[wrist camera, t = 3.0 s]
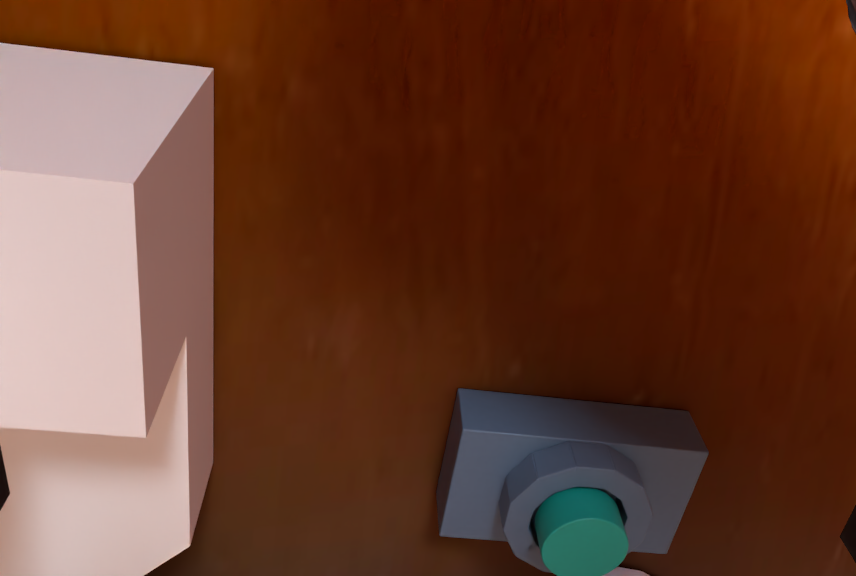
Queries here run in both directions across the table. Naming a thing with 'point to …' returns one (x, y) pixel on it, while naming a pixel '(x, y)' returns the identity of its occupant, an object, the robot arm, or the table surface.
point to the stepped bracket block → (104, 309)
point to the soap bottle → (625, 572)
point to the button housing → (564, 466)
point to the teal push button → (580, 533)
